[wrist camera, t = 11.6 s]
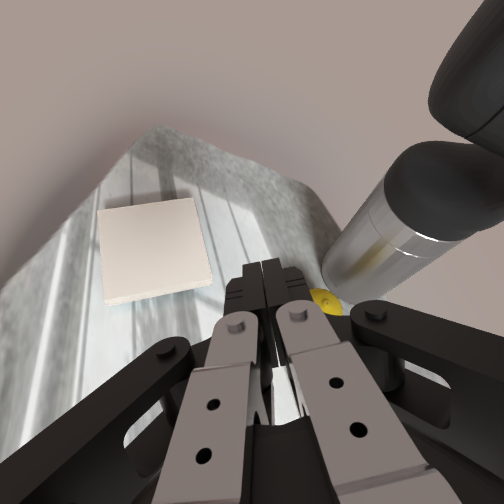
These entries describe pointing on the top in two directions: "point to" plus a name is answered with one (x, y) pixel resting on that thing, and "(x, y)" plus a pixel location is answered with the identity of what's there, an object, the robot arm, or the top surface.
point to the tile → (151, 250)
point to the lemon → (327, 301)
